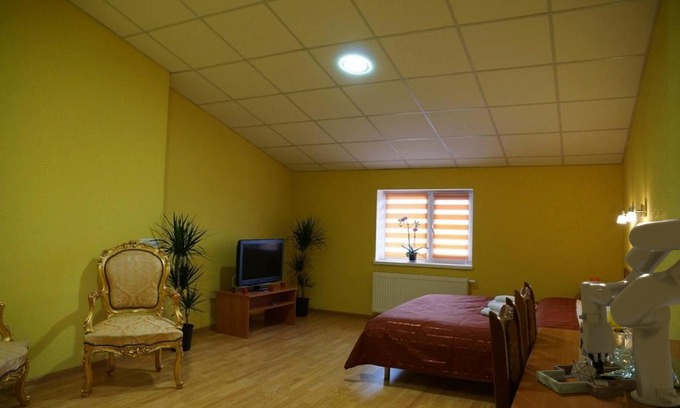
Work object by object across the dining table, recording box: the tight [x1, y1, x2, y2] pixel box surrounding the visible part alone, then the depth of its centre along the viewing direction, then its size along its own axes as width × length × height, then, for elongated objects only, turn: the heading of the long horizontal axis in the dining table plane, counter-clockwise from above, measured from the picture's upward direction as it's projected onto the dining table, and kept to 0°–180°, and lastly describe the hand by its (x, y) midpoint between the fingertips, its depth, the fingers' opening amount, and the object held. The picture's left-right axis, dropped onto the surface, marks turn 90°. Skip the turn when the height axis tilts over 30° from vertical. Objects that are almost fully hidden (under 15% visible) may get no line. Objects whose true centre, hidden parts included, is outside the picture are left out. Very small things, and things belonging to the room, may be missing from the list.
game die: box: [568, 357, 599, 385], centre depth 157 cm, size 9×8×10 cm
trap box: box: [535, 364, 636, 399], centre depth 156 cm, size 27×30×3 cm
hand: (598, 372), depth 157 cm, fingers closed
